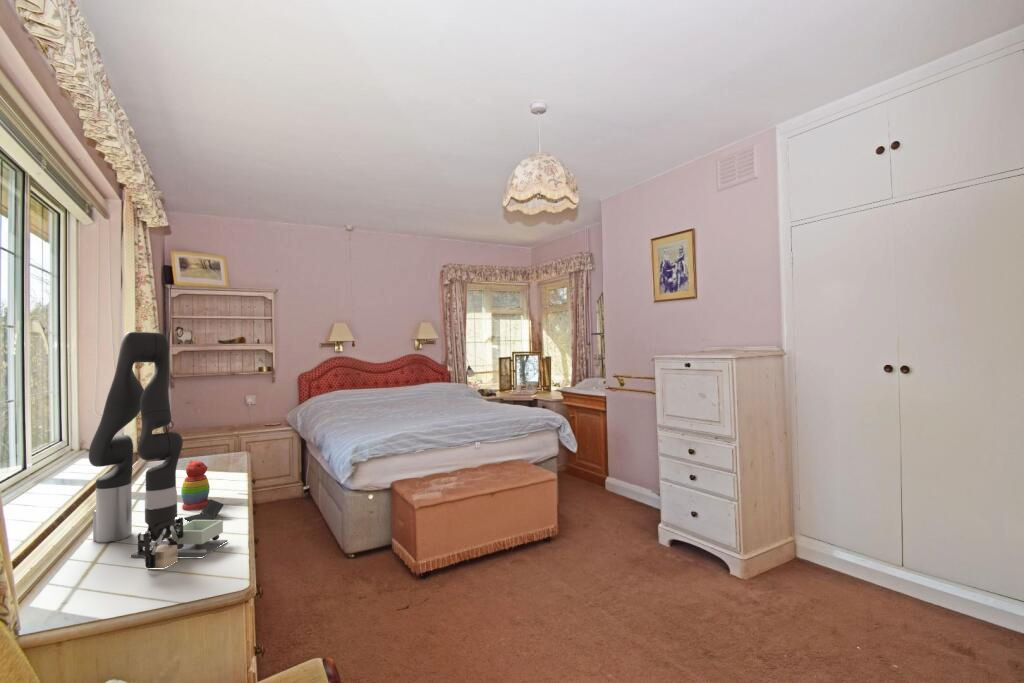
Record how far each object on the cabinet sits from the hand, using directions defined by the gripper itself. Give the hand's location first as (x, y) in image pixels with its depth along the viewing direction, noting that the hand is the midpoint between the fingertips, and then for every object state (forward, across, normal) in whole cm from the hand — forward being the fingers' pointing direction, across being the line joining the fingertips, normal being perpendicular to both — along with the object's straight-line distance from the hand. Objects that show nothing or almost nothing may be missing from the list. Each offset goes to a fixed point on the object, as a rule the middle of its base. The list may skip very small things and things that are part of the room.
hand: (161, 561), depth 141 cm
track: (+1, -12, -4) cm, 12 cm away
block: (+2, -1, 0) cm, 2 cm away
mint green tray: (0, -12, +2) cm, 12 cm away
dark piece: (+1, -39, -16) cm, 42 cm away
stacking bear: (0, -53, -29) cm, 60 cm away
